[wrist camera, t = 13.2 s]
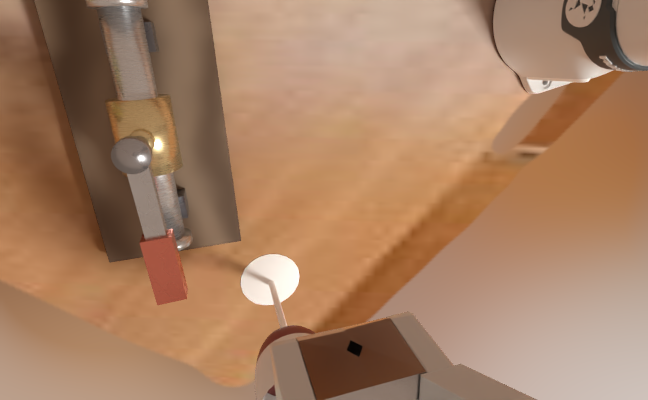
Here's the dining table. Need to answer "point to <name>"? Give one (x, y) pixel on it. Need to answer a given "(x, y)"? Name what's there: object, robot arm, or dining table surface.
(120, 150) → the valve lever
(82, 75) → the walnut board
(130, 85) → the pipe valve
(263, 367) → the wineglass
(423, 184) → the dining table surface
